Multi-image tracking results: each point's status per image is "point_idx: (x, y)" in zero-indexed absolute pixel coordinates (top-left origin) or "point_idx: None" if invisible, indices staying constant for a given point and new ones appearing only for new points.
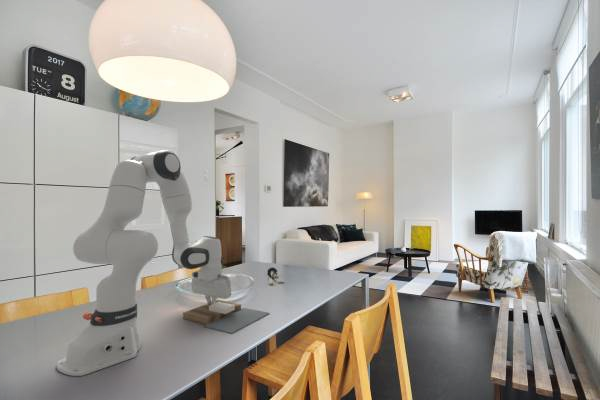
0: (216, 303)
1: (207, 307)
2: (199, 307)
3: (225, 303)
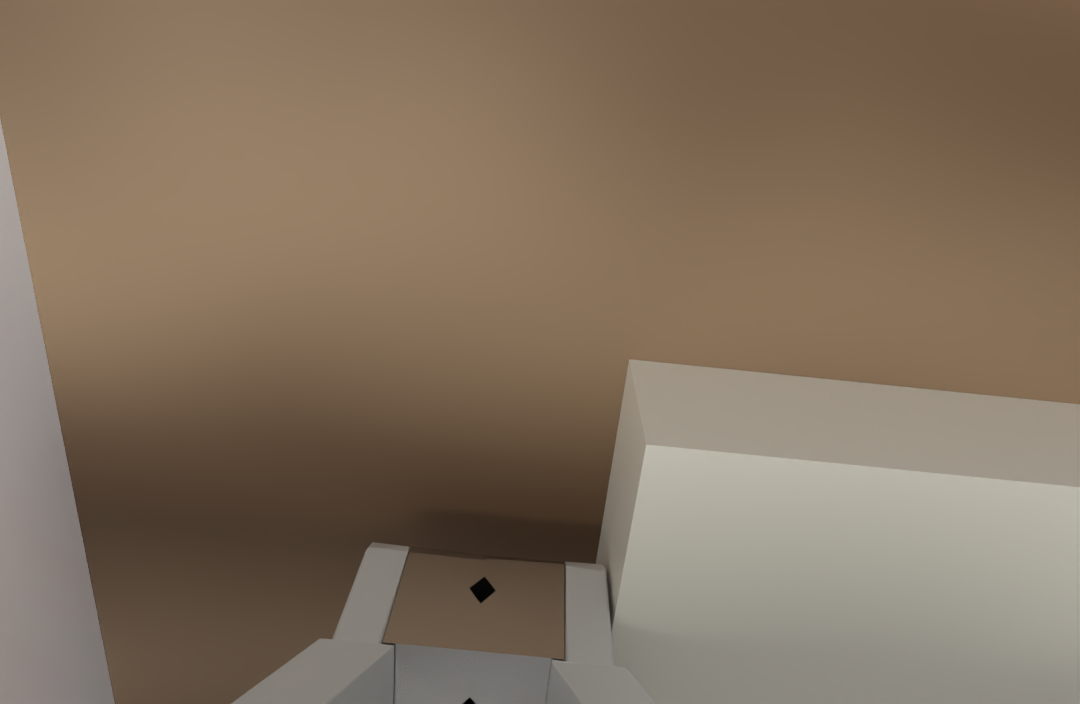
0: (676, 619)
1: (356, 549)
2: (151, 613)
3: (1047, 520)
